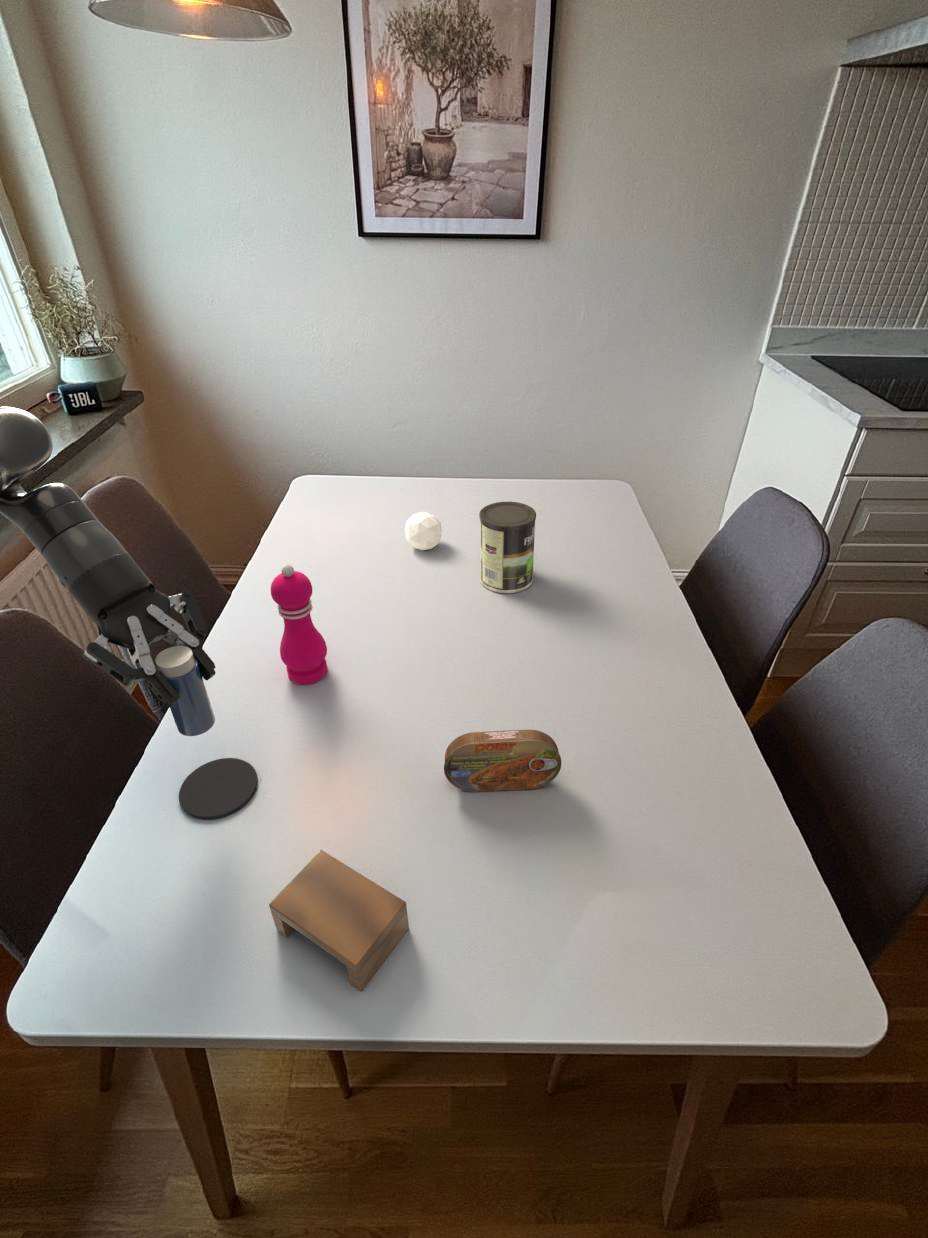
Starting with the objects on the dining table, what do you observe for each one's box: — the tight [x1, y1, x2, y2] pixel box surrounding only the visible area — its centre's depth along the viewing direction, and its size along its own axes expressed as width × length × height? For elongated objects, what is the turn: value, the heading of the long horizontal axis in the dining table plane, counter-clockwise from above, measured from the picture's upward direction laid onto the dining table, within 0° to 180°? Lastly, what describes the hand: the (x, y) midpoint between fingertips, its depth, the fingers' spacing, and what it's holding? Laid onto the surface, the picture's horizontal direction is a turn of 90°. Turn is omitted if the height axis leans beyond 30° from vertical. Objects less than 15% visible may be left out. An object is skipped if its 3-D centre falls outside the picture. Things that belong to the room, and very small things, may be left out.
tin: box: [443, 729, 562, 793], centre depth 88 cm, size 15×3×8 cm, turn 92°
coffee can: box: [478, 501, 537, 594], centre depth 127 cm, size 10×10×14 cm
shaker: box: [155, 645, 216, 737], centre depth 80 cm, size 4×4×10 cm
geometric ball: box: [404, 511, 443, 551], centre depth 140 cm, size 8×8×8 cm
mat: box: [178, 757, 259, 821], centre depth 90 cm, size 10×10×1 cm
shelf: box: [268, 849, 410, 992], centre depth 72 cm, size 8×12×5 cm, turn 57°
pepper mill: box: [270, 564, 328, 685], centre depth 104 cm, size 7×7×20 cm
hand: (193, 688), depth 79 cm, fingers closed on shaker, 4 cm apart
